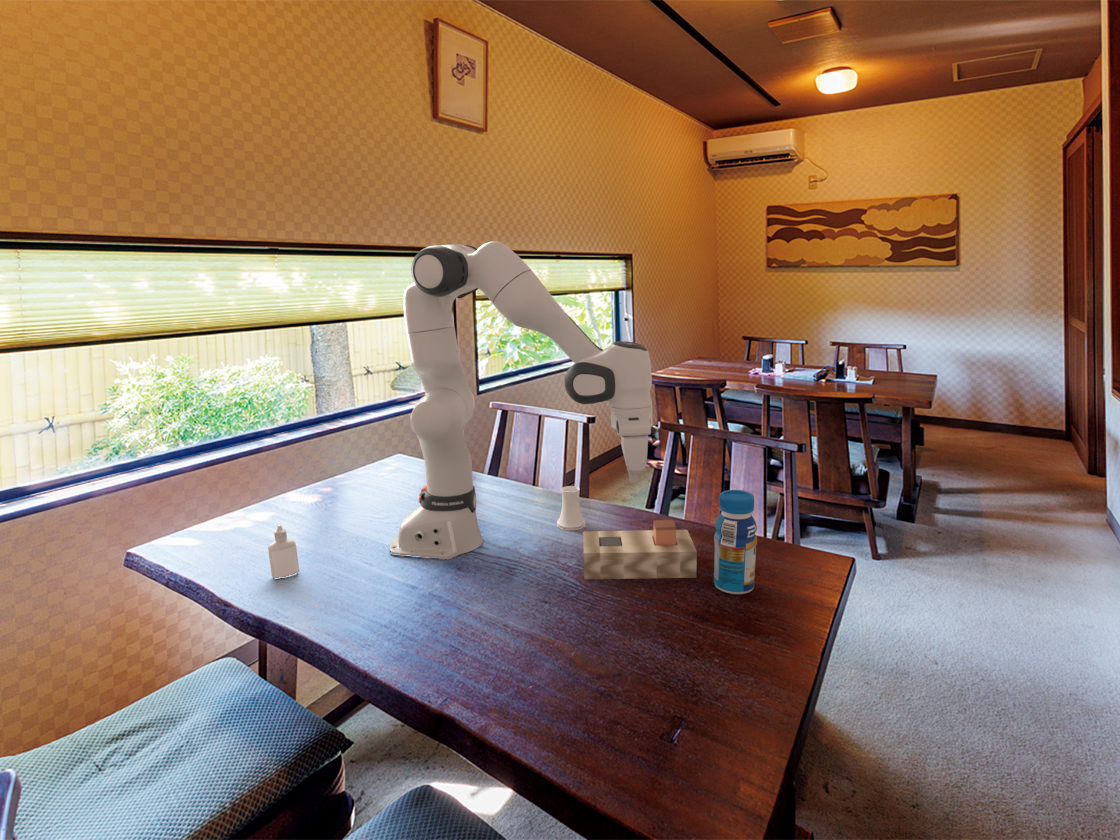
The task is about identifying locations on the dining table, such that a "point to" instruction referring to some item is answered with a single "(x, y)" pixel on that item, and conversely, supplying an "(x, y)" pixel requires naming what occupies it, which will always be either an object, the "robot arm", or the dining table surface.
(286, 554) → the eye dropper bottle
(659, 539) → the terracotta plug
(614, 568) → the maple housing
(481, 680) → the dining table surface
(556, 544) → the dining table surface
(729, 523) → the beverage bottle
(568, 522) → the vase
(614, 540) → the charcoal plug
